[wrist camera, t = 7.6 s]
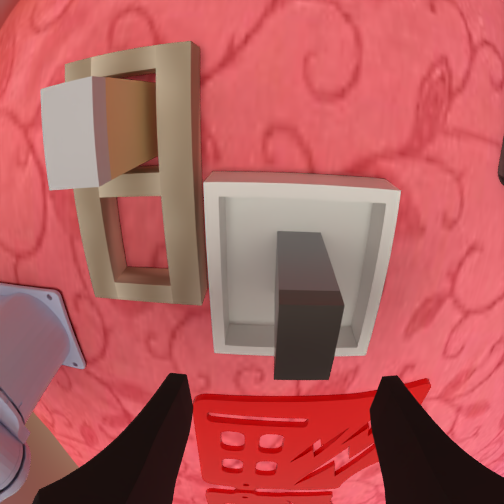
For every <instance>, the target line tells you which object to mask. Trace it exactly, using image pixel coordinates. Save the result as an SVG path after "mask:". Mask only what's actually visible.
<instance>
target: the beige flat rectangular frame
mask: <svg viewBox="0 0 504 504" xmlns="http://www.w3.org/2000/svg"><path fill="white" fill-rule="evenodd" d="M152 73H156V114H157V140H158V159H159V165H156V166H137V167H135V168H133V169H131V170H129V171H127V172H126V173H124V174H122V175H120V176H118V177H116V178H114V179H113V180H111V181H109V182H107V183H105V184H104V185H102V186H100V187H90V188H75V189H73V191H74V197H75V204H76V210H77V216H78V222H79V227H80V232H81V237H82V242H83V247H84V252H85V257H86V261H87V265H88V270H89V274H90V278H91V282H92V286H93V290H94V294H95V297H100V298H111V299H121V300H133V301H145V302H157V303H171V304H186V305H202V303H203V300H204V297H205V294H206V291H207V288H208V283H207V268H206V252H205V235H204V216H203V194H202V167H201V130H200V47H198V46H197V45H196V44H194V43H193V42H192V41H186V42H177V43H168V44H160V45H153V46H147V47H140V48H134V49H129V50H123V51H118V52H113V53H108V54H104V55H99V56H95V57H91V58H87V59H83V60H79V61H75V62H71V63H68V64H65V82H69V81H73V80H77V79H81V78H86V77H90V76H97V77H109V78H124V77H131V76H138V75H145V74H152ZM133 196H161V201H162V212H163V223H164V233H165V242H166V251H167V260H168V268H169V269H166V268H145V267H127V264H126V259H125V253H124V247H123V241H122V234H121V228H120V221H119V214H118V206H117V198H116V197H133Z"/></svg>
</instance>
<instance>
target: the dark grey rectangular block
mask: <svg viewBox="0 0 504 504" xmlns="http://www.w3.org/2000/svg"><path fill="white" fill-rule="evenodd" d="M344 306H345V305H344V302H343V299H342V295H341V292H340V289H339V286H338V283H337V280H336V277H335V273H334V270H333V267H332V264H331V261H330V258H329V255H328V252H327V249H326V247H325V244H324V241H323V238H322V235H321V232H293V231H277V248H276V271H275V293H274V380H329V377H330V372H331V368H332V364H333V360H334V355H335V351H336V346H337V341H338V337H339V332H340V327H341V322H342V317H343V312H344Z"/></svg>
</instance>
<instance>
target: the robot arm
mask: <svg viewBox="0 0 504 504" xmlns="http://www.w3.org/2000/svg"><path fill="white" fill-rule="evenodd" d="M61 365H66V366H70V367H74V368H79V369H84V368H85V367H86V363H85V360H84V358H83V355H82V353H81V350H80V348H79V345H78V343H77V340H76V338H75V335H74V332H73V329H72V327H71V324H70V321H69V318H68V315H67V312H66V309H65V306H64V303H63V300H62V297H61V294H60V293H59V292H58V291H57V290H52V289H43V288H35V287H27V286H20V285H12V284H5V283H0V502H2V501H3V500H4V499H6V498H8V497H9V496H11V495H13V494H15V493H16V492H17V491H18V490H19V489H20V488H21V487H22V485H23V484H24V482H25V481H26V478H27V476H28V473H29V470H30V462H31V453H30V449H29V446H28V445H27V443H26V440H27V438H28V436H29V434H30V432H29V430H28V429H27V428H26V427H25V423H26V422H27V420H28V418H29V417H30V415H31V413H32V411H33V410H34V408H35V406H36V405H37V403H38V401H39V400H40V398H41V397H42V395H43V393H44V392H45V390H46V388H47V387H48V385H49V384H50V382H51V380H52V379H53V377H54V376H55V374H56V373H57V371H58V370H59V368H60V366H61ZM369 410H370V419H371V428H372V434H373V438H374V443H375V447H376V451H377V455H378V459H379V463H380V467H381V472H382V476H383V481H384V487H385V498H386V504H504V477H502V476H500V475H498V474H496V473H495V472H493V471H491V470H490V469H488V468H487V467H485V466H484V465H482V464H481V463H479V462H478V461H477V460H475V459H474V458H473V457H471V456H470V455H469V454H467V453H466V452H465V451H464V450H463V449H461V448H460V447H459V446H458V445H457V444H456V443H455V442H454V441H452V440H451V439H450V438H449V437H448V436H447V435H446V434H445V433H444V431H443V430H442V429H441V428H440V427H439V426H438V425H437V424H436V423H435V422H434V421H433V419H432V418H431V417H430V416H429V415H428V413H427V412H426V411H425V410H424V409H423V408H422V406H421V405H420V404H419V403H418V401H417V400H416V399H415V398H414V396H413V395H412V394H411V392H410V391H409V390H408V389H407V387H406V386H405V385H404V383H403V382H402V381H401V380H400V378H399V377H398V376H397V375H396V376H384V377H382V379H381V382H380V384H379V387H378V390H377V392H376V395H375V397H374V400H373V402H372V404H371V407H370V409H369ZM192 414H193V404H192V399H191V394H190V389H189V384H188V379H187V375H186V374H176V373H170V374H169V375H168V376H167V377H166V379H165V380H164V382H163V383H162V385H161V386H160V387H159V389H158V390H157V391H156V393H155V394H154V395H153V397H152V398H151V399H150V401H149V402H148V403H147V404H146V406H145V407H144V408H143V409H142V411H141V412H140V413H139V414H138V415H137V417H136V418H135V419H134V420H133V421H132V422H131V423H130V424H129V425H128V427H127V428H126V429H125V430H124V431H123V432H122V433H121V434H120V435H119V436H118V437H117V438H116V439H115V440H114V441H113V442H112V443H110V444H109V445H108V446H107V447H106V448H105V449H104V450H102V451H101V452H100V453H99V454H97V455H96V456H95V457H94V458H92V459H91V460H90V461H88V462H87V463H86V464H84V465H83V466H81V467H80V468H78V469H76V470H75V471H73V472H72V473H70V474H69V475H67V476H65V477H63V478H62V479H60V480H58V481H56V482H54V483H52V484H50V485H48V486H46V487H43V488H41V489H39V491H38V493H37V495H36V496H35V498H34V501H33V503H32V504H172V501H173V494H174V488H175V483H176V479H177V475H178V471H179V468H180V464H181V461H182V457H183V454H184V450H185V447H186V443H187V440H188V436H189V432H190V427H191V421H192Z"/></svg>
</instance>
